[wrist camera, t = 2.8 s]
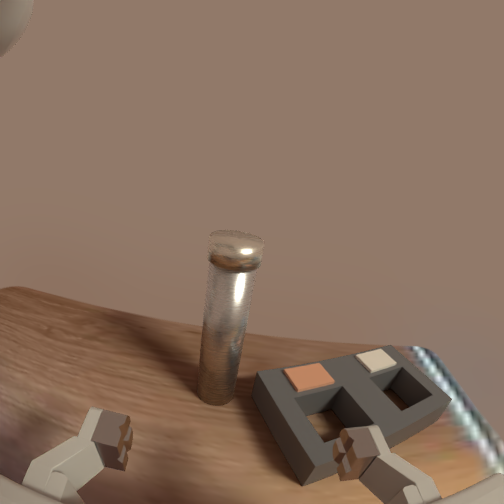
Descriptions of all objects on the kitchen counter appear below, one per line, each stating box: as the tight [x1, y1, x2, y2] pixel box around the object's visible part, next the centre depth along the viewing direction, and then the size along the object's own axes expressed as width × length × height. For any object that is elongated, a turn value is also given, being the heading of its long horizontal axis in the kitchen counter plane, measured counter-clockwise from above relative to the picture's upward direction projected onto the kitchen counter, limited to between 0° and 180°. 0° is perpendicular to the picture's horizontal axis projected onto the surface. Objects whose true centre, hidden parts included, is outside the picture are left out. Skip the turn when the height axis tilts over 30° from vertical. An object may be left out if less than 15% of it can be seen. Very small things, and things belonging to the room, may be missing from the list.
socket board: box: [251, 345, 452, 486], centre depth 23 cm, size 16×10×3 cm, turn 111°
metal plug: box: [197, 230, 264, 406], centre depth 23 cm, size 4×4×14 cm
